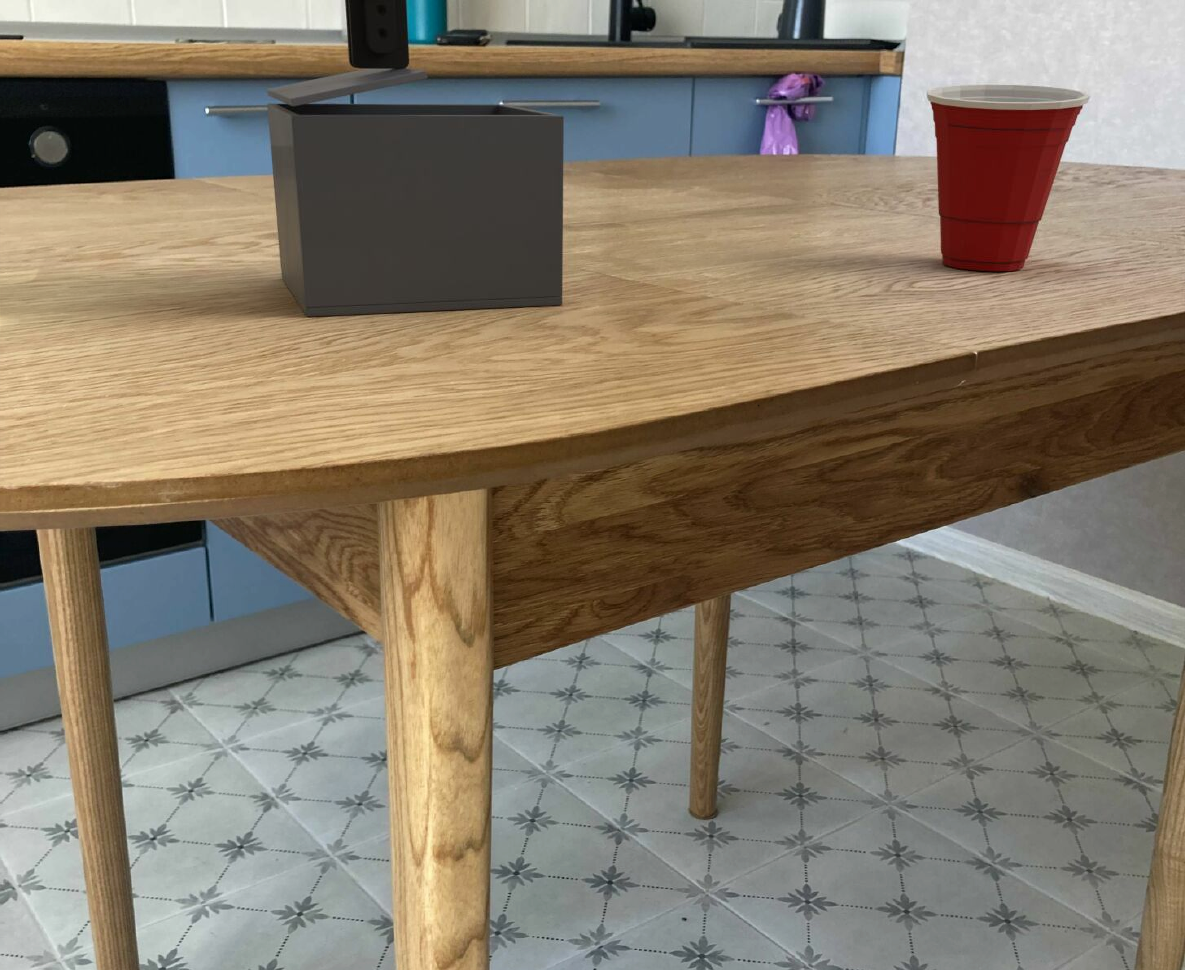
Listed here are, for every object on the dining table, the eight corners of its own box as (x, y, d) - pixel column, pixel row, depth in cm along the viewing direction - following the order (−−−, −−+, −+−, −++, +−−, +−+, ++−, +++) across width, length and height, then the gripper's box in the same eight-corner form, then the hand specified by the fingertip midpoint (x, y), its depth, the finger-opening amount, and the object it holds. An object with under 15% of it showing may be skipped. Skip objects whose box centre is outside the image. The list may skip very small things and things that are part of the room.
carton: (306, 316, 70) (291, 115, 66) (281, 277, 81) (267, 103, 77) (562, 305, 75) (564, 115, 70) (505, 269, 86) (503, 104, 81)
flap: (292, 106, 66) (290, 98, 66) (268, 96, 77) (266, 89, 77) (427, 78, 67) (425, 70, 67) (384, 72, 78) (383, 65, 78)
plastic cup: (894, 271, 88) (915, 85, 83) (917, 250, 97) (937, 82, 92) (1056, 283, 85) (1088, 91, 80) (1064, 261, 94) (1093, 87, 89)
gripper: (463, -351, 59) (474, 71, 67) (402, -282, 72) (417, 65, 80) (301, -368, 57) (332, 71, 65) (269, -294, 70) (297, 65, 78)
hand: (379, 67), depth 72 cm, fingers closed
